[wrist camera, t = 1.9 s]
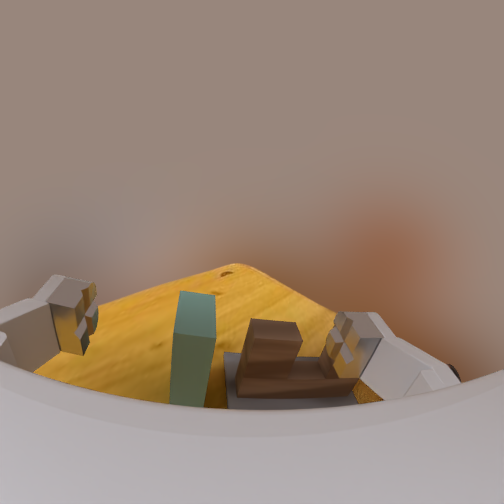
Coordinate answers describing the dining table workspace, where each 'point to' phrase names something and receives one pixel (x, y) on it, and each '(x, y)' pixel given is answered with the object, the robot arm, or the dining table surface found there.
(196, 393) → the teal green rectangular block
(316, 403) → the walnut slotted plate
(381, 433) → the robot arm
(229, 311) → the dining table surface
